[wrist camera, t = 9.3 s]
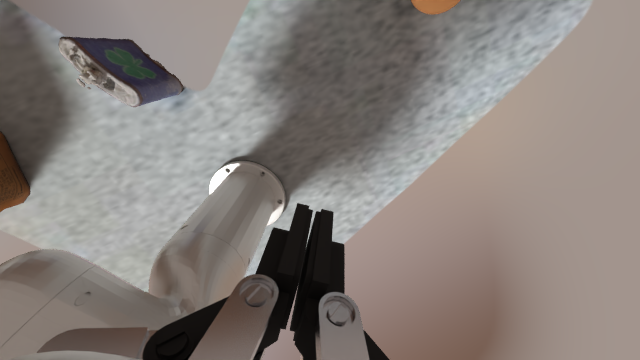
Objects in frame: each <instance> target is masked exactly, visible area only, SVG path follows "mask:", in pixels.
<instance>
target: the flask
mask: <svg viewBox="0 0 640 360" xmlns="http://www.w3.org/2000/svg"><path fill="white" fill-rule="evenodd" d="M59 50H60V52H61V54H62V55H63V56H64V57H65V58H66V59H67V60H68V61H69V62H70V63H71V64H72V65H73V66H74V67H75V68H76V69H77V70H78V71H79V72H80V73H81V75H79V74H78V75H79V77H80V78H81V79H82V80H84V81H85V83H86V84H94V85H96V86H97V87H99V88H100V89H102V90H103V91H105V92H107V93H108V94H109V95H111V96H113V97H115V98H116V99H118V100H119V101H121V102H123V103H125V104H127V105H129V106H131V107H137V106H141V105H143V104H146V103H150V102H154V101H157V100H161V99H163V98H167V97H170V96H174V95H178V94H180V93H181V92H182V89H183V85H182V84H181V82H180V81H179V79H178V78H177V77H176V76H175V75H174V74H173V75H172V74H171V73H169V72H168V71H167V70H166V69H165V68H164V66H162V65H161V64H160V63H159V62H157V61H155V60H152V59H151V58H150V57H149V55H148V54H146V53H144V52H143V51H142V49H141V48H140V47H139V46H138V45H137V44H136V43H134V41H132V40H129V39H106V38H98V39H95V38H80V37H76V38H75V37H74V38H73V37H61V38H60V41H59ZM77 82H78V83H79V84H80V85H81V86H82V87H85V84H84V83H83V82H82V81H80V79H79V78H78V79H77ZM88 89H91V88H90V87H88Z"/></svg>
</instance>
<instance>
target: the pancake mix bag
mask: <svg viewBox="0 0 640 360" xmlns="http://www.w3.org/2000/svg"><path fill="white" fill-rule="evenodd" d="M29 195H30V187H29V185H28V183H27V181H26V179H25V177H24V175H23V173H22V171H21V169H20V167H19V165H18V163H17V161H16V160H15V158H14V156H13V154H12V152H11V149H10V147H9V145H8V143H7V140H6V138H5V136H4V135H3V134H2V133H1V132H0V212H1V211H2V210H4V209H6V208H9V207H12V206H16V205H18V204H21V203H24V201H25V200H26V198H27V197H28V196H29Z"/></svg>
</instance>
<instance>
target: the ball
mask: <svg viewBox="0 0 640 360" xmlns="http://www.w3.org/2000/svg"><path fill="white" fill-rule="evenodd" d="M459 1H460V0H411V2H412V3H413V5H414V6H415V7H416V8H417V9H418V10H419V11H421V12H423V13H426V14H440V13H443V12H446V11H448V10H449V9H451V8H453V7H454V6H455V5H456V4H457V3H458V2H459Z"/></svg>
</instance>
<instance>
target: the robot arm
mask: <svg viewBox="0 0 640 360" xmlns="http://www.w3.org/2000/svg"><path fill="white" fill-rule="evenodd" d="M263 172H264V173H263ZM209 193H210V195H209V196H208V197H207V198H206V199H205V201H204V202H203V203H202V204H201V205H200V206H199V207H198V208H197V210H196V211H195V212H194V213H193V214H192V215H191V216H190V217H189V219H188V220H187V221H186V222H185V223H184V224H183V225H182V227H181V228H180V229H179V230H178V231H177V232H176V233H175V234H174V236H173V237H172V238H171V239H170V240H169V241H168V242H167V243H166V244H165V246H164V247H163V248H162V249H161V251H160V252H159V253H158V255H157V257H156V259H155V261H154V263H153V266H152V269H151V273H150V279H149V293H147V292H144V291H142V290H140V289H139V288H137V287H135V286H133V285H132V284H130V283H128V282H126V281H125V280H123V279H121V278H119V277H117V276H116V275H114V274H112V273H110V272H109V271H107V270H105V269H103V268H102V267H100V266H97V265H96V264H94V263H92V262H90V261H88V260H86V259H84V258H82V257H80V256H78V255H76V254H73V253H70V252H67V251H63V250H57V249H42V250H36V251H31V252H28V253H25V254H22V255H19V256H17V257H15V258H12V259H10V260H8V261H6V262H4V263H2V264H1V265H0V360H262V358H263V355H264V353H265V349H266V348H267V347H268V346H270V345H271V344H273V343H274V342H276V341H277V340H278V336H279V333H280V329H286V325H287V322H288V319H289V315H290V312H291V308H292V304H293V301H294V298H295V294H296V291H297V295H296V300H295V306H294V311H293V315H292V321H291V326H290V331H294V332H295V333H294V339H293V341H295V345H296V347H297V348H298V350H299V352H300V353H301V357H300V360H389V359H388V358H387V356H386V355H385V354H384V353H383V352H382V351H381V349H380V348H379V347H378V346H377V345H376V344H375V342H374V341H373V340H372V339H371V338H370V337H369V335H368V334H367V333H366V332H365V331H364V330H363V326H362V321H361V317H360V312H359V309H358V307H357V305H356V304H355V302H354V301H353V300H352V299H351V298H350V297H349V296H347V295H345V294H344V244H341V243H337V242H333V241H332V228H333V212H332V211H328V210H323V209H322V210H321V212H318V211H316V214H315V218H314V221H313V225H312V229H311V232H310V236H309V240H308V243H307V239H308V234H309V228H310V223H311V218H312V212H313V210H310V209H309V206H307V205H303V204H299V203H297V207H296V210H295V214H294V217H293V220H292V224H291V227H290V231H287V230H282V229H278V228H273V230H272V232H271V235H270V237H269V240H268V243H267V245H266V248H265V250H264V253H263V256H262V258H261V261H260V263H259V266H258V269H257V271H256V274H253V275H249V276H247V277H245V275H246V273H247V271H248V268H249V266H250V263H251V261H252V259H253V256H254V254H255V252H256V249H257V247H258V245H259V242H260V240H261V238H262V235H263V233H264V231H265V228H266V226H268V225H271V224H272V223H274V222H275V221H276V220H277V219H278V218H279V217H280V216H281V214H282V212H283V210H284V207H285V202H286V197H285V191H284V188H283V186H282V184H281V182H280V181H279V179H278V178H277V176H276V175H274V174H273V173H272V172H271V171H270V170H268V169H267V168H266V167H264V166H262V165H260V164H257V163H254V162H250V161H234V162H231V163H228V164H226V165H224V166H222V167H221V168H220V169H219V170H218V171H217V172H216V173H215V174H214V176H213V177H212V179H211V182H210V186H209ZM306 244H307V247H306ZM298 283H299V284H298ZM297 287H298V289H297Z"/></svg>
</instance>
